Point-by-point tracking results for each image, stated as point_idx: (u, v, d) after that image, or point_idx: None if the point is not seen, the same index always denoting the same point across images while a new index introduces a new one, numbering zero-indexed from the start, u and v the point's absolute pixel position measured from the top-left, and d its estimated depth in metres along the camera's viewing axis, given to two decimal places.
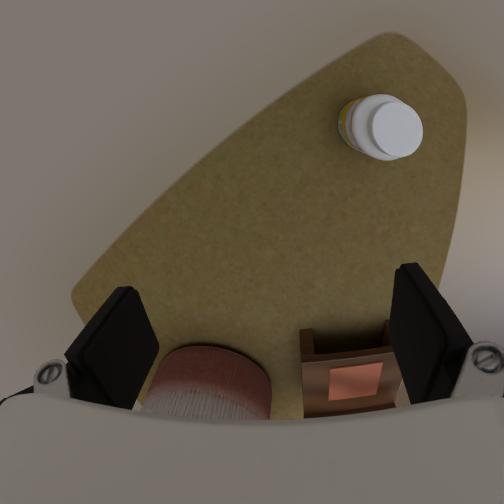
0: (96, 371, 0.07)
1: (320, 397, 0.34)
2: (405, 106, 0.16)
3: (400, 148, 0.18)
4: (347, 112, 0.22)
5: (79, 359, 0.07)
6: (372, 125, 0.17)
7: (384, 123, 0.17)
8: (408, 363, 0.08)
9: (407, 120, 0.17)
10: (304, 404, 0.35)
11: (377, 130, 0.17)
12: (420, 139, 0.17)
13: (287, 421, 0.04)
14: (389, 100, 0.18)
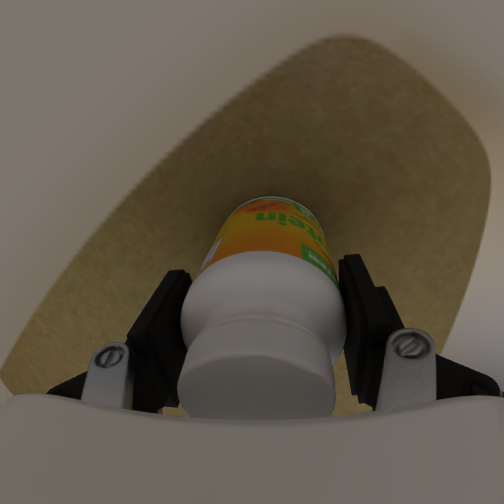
0: (160, 352, 0.08)
1: None
2: (276, 363, 0.06)
3: None
4: None
5: None
6: None
7: (211, 398, 0.07)
8: (348, 349, 0.09)
9: (283, 392, 0.06)
10: None
11: (193, 408, 0.07)
12: None
13: (287, 421, 0.04)
14: (262, 289, 0.08)
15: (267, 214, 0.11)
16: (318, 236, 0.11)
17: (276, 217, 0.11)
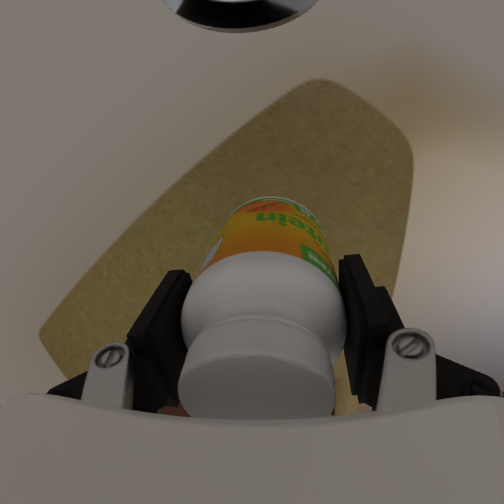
0: (160, 352, 0.08)
1: None
2: (277, 363, 0.06)
3: None
4: None
5: None
6: (179, 398, 0.07)
7: (212, 398, 0.07)
8: (348, 349, 0.09)
9: (283, 392, 0.06)
10: None
11: (193, 407, 0.07)
12: None
13: (287, 421, 0.04)
14: (263, 289, 0.08)
15: (267, 215, 0.11)
16: (318, 236, 0.11)
17: (277, 217, 0.11)
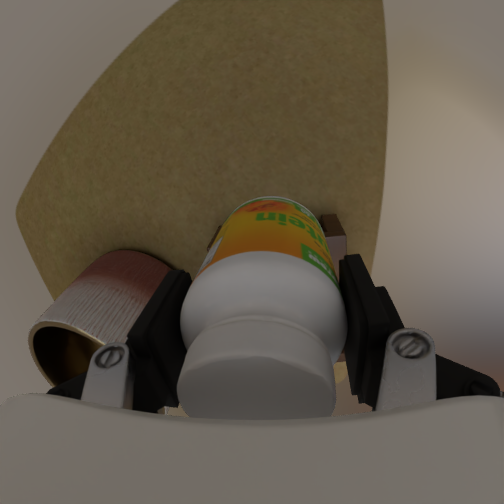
0: (160, 352, 0.08)
1: None
2: (277, 364, 0.06)
3: None
4: None
5: None
6: (178, 399, 0.07)
7: (211, 399, 0.07)
8: (348, 349, 0.09)
9: (283, 393, 0.06)
10: None
11: (193, 409, 0.07)
12: None
13: (287, 421, 0.04)
14: (262, 289, 0.08)
15: (266, 214, 0.11)
16: (318, 236, 0.11)
17: (277, 217, 0.11)
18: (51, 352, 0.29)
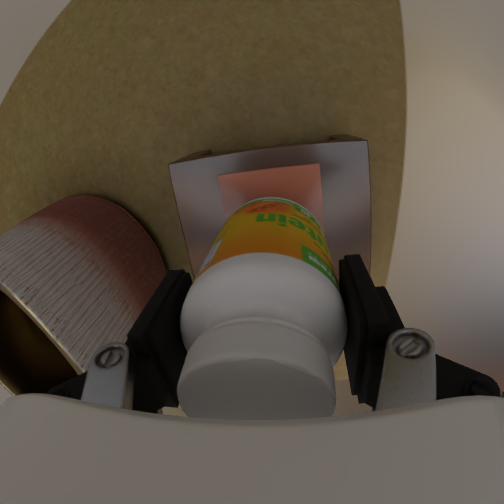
0: (160, 352, 0.08)
1: None
2: (277, 366, 0.06)
3: None
4: None
5: None
6: None
7: (211, 401, 0.07)
8: (348, 349, 0.09)
9: (283, 395, 0.06)
10: (195, 275, 0.22)
11: (193, 410, 0.07)
12: None
13: (287, 421, 0.04)
14: (262, 291, 0.08)
15: (267, 215, 0.11)
16: (318, 237, 0.11)
17: (277, 218, 0.11)
18: None
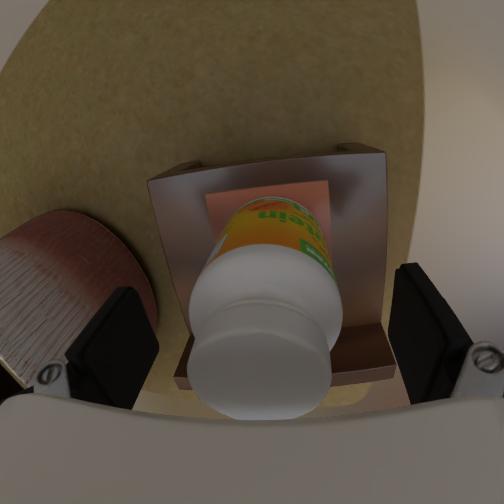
0: (96, 371, 0.07)
1: None
2: (278, 340, 0.07)
3: (264, 413, 0.08)
4: None
5: (79, 359, 0.07)
6: (188, 378, 0.08)
7: (218, 376, 0.07)
8: (408, 363, 0.08)
9: (284, 369, 0.07)
10: (182, 307, 0.19)
11: (201, 387, 0.08)
12: (321, 397, 0.07)
13: (287, 421, 0.04)
14: (265, 277, 0.08)
15: (268, 213, 0.12)
16: (316, 233, 0.12)
17: (277, 215, 0.12)
18: None
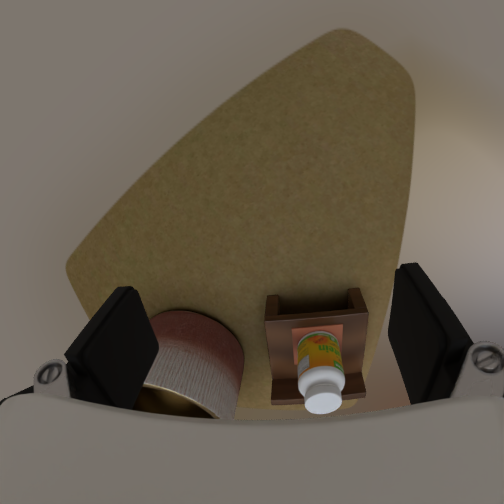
0: (96, 371, 0.07)
1: (286, 360, 0.39)
2: (330, 394, 0.27)
3: (323, 411, 0.28)
4: (300, 361, 0.33)
5: (79, 359, 0.07)
6: (305, 403, 0.28)
7: (314, 402, 0.28)
8: (408, 363, 0.08)
9: (330, 400, 0.28)
10: (271, 368, 0.39)
11: (308, 405, 0.28)
12: (338, 406, 0.28)
13: (287, 421, 0.04)
14: (325, 376, 0.29)
15: (322, 346, 0.33)
16: (337, 351, 0.33)
17: (325, 348, 0.32)
18: None
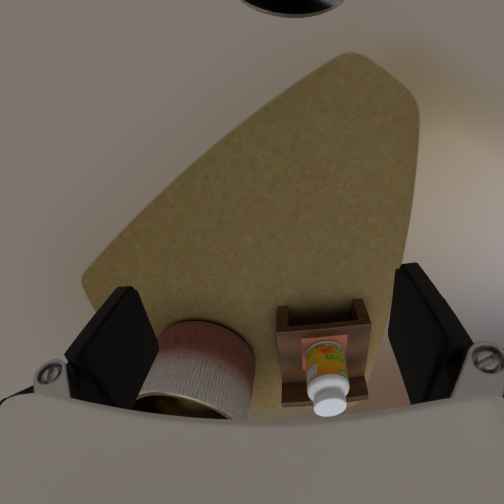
0: (96, 371, 0.07)
1: (295, 366, 0.41)
2: (336, 399, 0.30)
3: (329, 414, 0.31)
4: (308, 368, 0.36)
5: (79, 359, 0.07)
6: (314, 408, 0.31)
7: (321, 407, 0.31)
8: (408, 363, 0.08)
9: (336, 404, 0.30)
10: (282, 373, 0.42)
11: (316, 409, 0.31)
12: (343, 409, 0.31)
13: (287, 421, 0.04)
14: (332, 383, 0.32)
15: (328, 355, 0.35)
16: (342, 360, 0.36)
17: (331, 357, 0.35)
18: (140, 403, 0.40)
